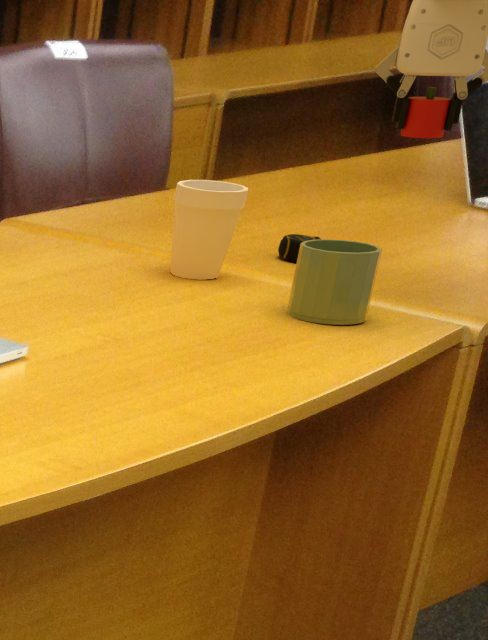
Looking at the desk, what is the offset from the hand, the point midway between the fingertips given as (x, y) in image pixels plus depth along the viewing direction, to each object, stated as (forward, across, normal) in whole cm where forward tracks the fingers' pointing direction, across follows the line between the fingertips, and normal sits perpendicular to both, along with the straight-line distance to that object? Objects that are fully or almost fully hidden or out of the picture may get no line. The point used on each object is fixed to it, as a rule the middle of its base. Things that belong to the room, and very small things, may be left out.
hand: (423, 127), depth 207 cm
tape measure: (+21, -10, +13) cm, 27 cm away
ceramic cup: (+21, -9, -24) cm, 33 cm away
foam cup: (+21, -26, -6) cm, 34 cm away
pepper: (+1, 0, 0) cm, 1 cm away
